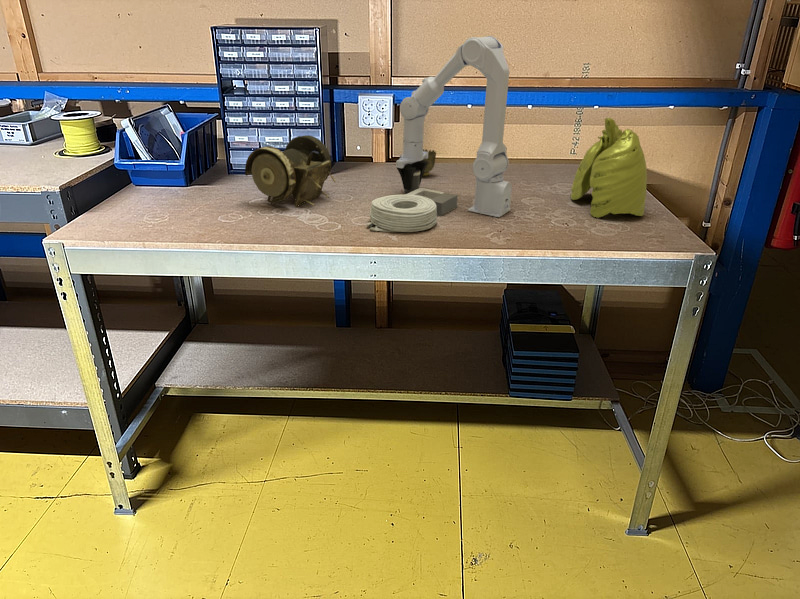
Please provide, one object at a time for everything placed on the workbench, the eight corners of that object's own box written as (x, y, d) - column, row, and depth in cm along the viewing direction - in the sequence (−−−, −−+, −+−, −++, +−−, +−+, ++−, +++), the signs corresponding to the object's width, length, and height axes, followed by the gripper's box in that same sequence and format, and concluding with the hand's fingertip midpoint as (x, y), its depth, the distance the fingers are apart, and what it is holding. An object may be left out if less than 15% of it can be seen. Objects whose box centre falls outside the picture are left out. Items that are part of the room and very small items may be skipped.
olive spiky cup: (435, 179, 188) (437, 154, 184) (412, 178, 188) (413, 153, 184) (434, 173, 195) (435, 148, 191) (412, 172, 194) (413, 148, 191)
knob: (422, 193, 174) (423, 169, 171) (414, 196, 171) (415, 173, 167) (409, 190, 176) (409, 167, 173) (400, 194, 173) (401, 170, 170)
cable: (363, 232, 145) (363, 209, 142) (375, 210, 160) (375, 189, 157) (433, 237, 143) (434, 214, 140) (439, 214, 158) (440, 192, 155)
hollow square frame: (456, 207, 163) (457, 195, 161) (441, 215, 156) (441, 203, 155) (420, 199, 169) (420, 187, 167) (403, 207, 162) (403, 195, 160)
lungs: (562, 194, 176) (574, 111, 165) (611, 193, 178) (626, 111, 167) (594, 222, 154) (611, 129, 143) (650, 221, 156) (671, 129, 145)
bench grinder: (235, 189, 162) (252, 128, 149) (284, 168, 179) (303, 111, 166) (291, 231, 159) (313, 172, 146) (336, 206, 176) (359, 150, 163)
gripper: (414, 134, 174) (413, 179, 180) (387, 143, 163) (387, 190, 169) (435, 137, 170) (432, 183, 177) (408, 146, 160) (407, 194, 166)
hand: (411, 187), depth 173 cm, fingers closed on knob, 4 cm apart
